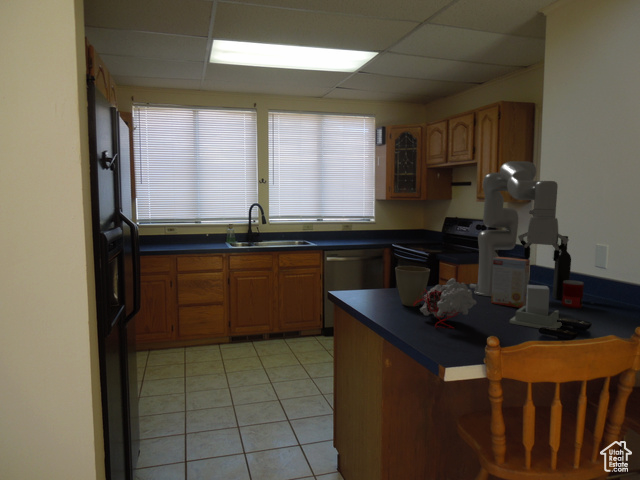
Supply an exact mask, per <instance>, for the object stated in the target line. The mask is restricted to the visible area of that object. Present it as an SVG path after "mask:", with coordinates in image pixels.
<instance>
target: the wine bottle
mask: <svg viewBox="0 0 640 480" xmlns="http://www.w3.org/2000/svg"><path fill="white" fill-rule="evenodd" d="M563 236H564V237H566V238H568V239H569V236H568V235H563ZM562 242H563V240H561V239H560V245H561V244H562ZM553 268H554V269H553V283H552V284H553V285H552V298H553V299H555V300H558V301H562V292H563V281H565V280H571V268H572V256H571V254H570V253H569V252H568V243H567V244H566V245H565V246H564V247H563V248H562V249H560V252H559V259H557V261H554V267H553Z"/></svg>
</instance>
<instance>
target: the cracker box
mask: <svg viewBox="0 0 640 480" xmlns="http://www.w3.org/2000/svg"><path fill="white" fill-rule="evenodd" d="M530 262H531V261H530V259H527V258H526V259H524V258H517V257H506V256H505V257H504V256H499V257H495V258H494V259H493V277H492V296H490V297H491V298H490V299H491V300H490V302H491V304H495V305H501V306H507V307H513V308H517V309H520V308H522V307H523V306H526V299H527V285H529V280H530V279H529V278H530V264H531V263H530Z"/></svg>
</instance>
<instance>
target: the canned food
mask: <svg viewBox="0 0 640 480" xmlns="http://www.w3.org/2000/svg"><path fill="white" fill-rule="evenodd" d="M584 287H585V283H584V282H583V281H579V280H571V279H570V280H565V281H563V292H562V300H561V305H562V306H563V307H565V308H571V309H581V308H582V307H583V302H584V301H583V299H584Z"/></svg>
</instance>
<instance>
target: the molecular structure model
mask: <svg viewBox="0 0 640 480" xmlns="http://www.w3.org/2000/svg"><path fill="white" fill-rule="evenodd" d="M424 290H425V291H424V293H426V294H424V295H423V298H422V299H420V300H418V301H417V300H416V301H417V302H419V301H421V302H422V301H424V304H423V305H422V307H420V308H419V310H420V312H421V313H423V315H424V316H429V315H431V314H432V315H433V316H434V318H436V319H437V320H439V321H437V322H436V323H435V324H434V326H435V329H437V328H443V329H445V328H446V327H444V326H441V325H440V326H439V325H437V324H443V325H445V326H447V327H448V329H453V330H455V327H453V326H452V325H450V324H446V323H445V321H447V320H448V319H451V318H454V317H456V316H458V315H459V313H460V314H463V315H464V316H465V315H468V314H469V310H470V309H471V308H473V306H475V305H477V301H476V300H475V299H474V298H473V290H472V289H469V287H468V286H467V285H466V283H465V282H461V283H460V282H458V281H457V279H456V278H454V277H452V278H450V279H449V280H448V281H446V284H443V285H442V284H435V286H434V287H432V288H430V289H429V290H427V288H426V289H424ZM422 293H423V292H422ZM422 293H421V294H422ZM418 297H419V296H418ZM417 299H418V298H417ZM416 301H415V302H416ZM415 302H414V304H413V306H412V307H416V306H415V304H416V303H417V302H416V303H415ZM445 316H446V317H445ZM444 317H445V318H444ZM442 318H443V319H442Z"/></svg>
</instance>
